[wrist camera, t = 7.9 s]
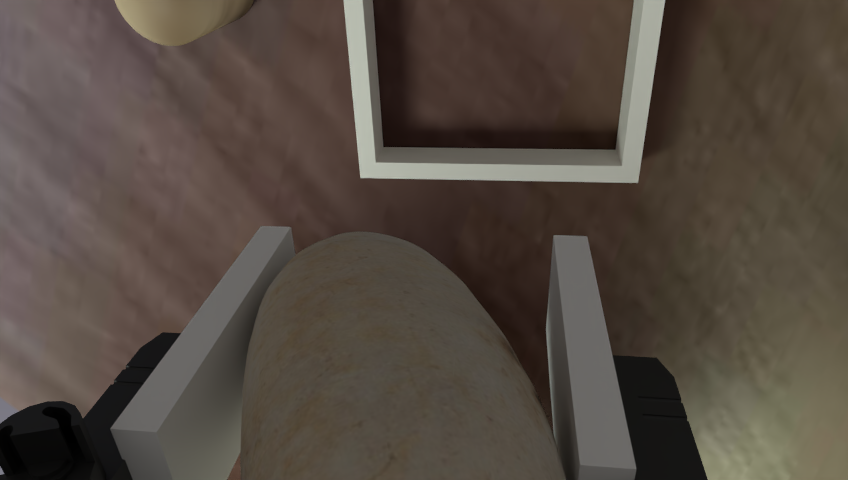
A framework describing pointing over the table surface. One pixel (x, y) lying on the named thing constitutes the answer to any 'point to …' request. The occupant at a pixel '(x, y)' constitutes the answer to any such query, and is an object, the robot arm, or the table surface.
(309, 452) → the stone
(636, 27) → the white rectangular frame
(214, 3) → the short oak dowel
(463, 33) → the table surface
